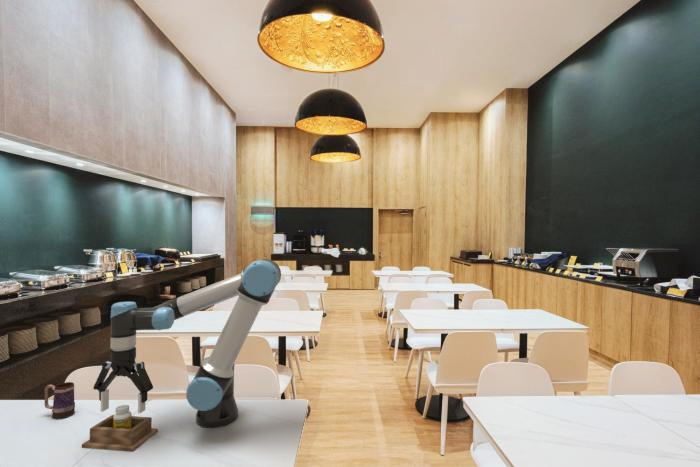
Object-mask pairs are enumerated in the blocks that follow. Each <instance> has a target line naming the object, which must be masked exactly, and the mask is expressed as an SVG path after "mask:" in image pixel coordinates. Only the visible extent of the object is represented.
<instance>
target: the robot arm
mask: <svg viewBox="0 0 700 467" xmlns="http://www.w3.org/2000/svg"><path fill="white" fill-rule="evenodd" d="M281 277H282V271H281V268H280V266H279V265H278V264H277V263H276V262H275V261H273V260H271V259H267V258H265V259H260V260H258V259H257V260H255V261H253V262H251V263H250V264H248V266H246V268H244V269H242V270H241V273H238V274H236V275H233V276H231V277H228V278H225V279H223V280H220V281H217V282H214V283H212V284H209V285H207V286H204V287H202V288H199V289H196V290H195V291H191V292H189V293H185V294H184V295H181V296H179V297H176V298H173V299H170V300H167V301H165V302H163V303H161V304H158V305H156V306H154V307H138V306H137V303H136V302H135V301H119V302H115V303H113V304H112V305H111V307H110V308H111V310H110V317H109V318H110V343H109V344H110V349H111V350H110V358H109V360H107V361H105V362H103V363H102V364H101V371H100V372H99V374H98V377H97V378H96V380H95V383H94V385H93V388H92V389H93V390H95V391H96V390H97V391H98V392H99V394H98V399H99V401H100V412H101V413H102V412H105V411H107V410H108V409H110V407H109V406H110V389H108V387H109V386H110V384H111V383H112V382H113V380H115V378H116V377H127V378H128V379H130V381H131V382H132V383H133V385H134V386H135V387H136V388H137V390H138V391H139V393H138V394H137V414H142V413H143V412H145V411H146V402H147V401H148V392H150V391H151V390H153V389H154V385H153V383H152V381H151V379H150V376H149V374H148V372H147V370H146V366H145V362H144V361H141V362H136V359H137V347H136V345H137V331H162V330H169V329H171V328H172V327H173V325H174V322H175V321H176V320H179V319H181V318H184V317H185V316H188V315H191V314H193V313H196V312H198V311H202V310H204V309H206V308H209V307H211V306H214V305H217V304H219V303H222V302H225V301H227V300H230V299H233V298H234V297H237V296H238V297H237V300H236V302H235V304H234V306H233V307H232V310H231V312H230V314H229V316H228V318H227V320H226V322H225V324H224V326H223V328H222V331H221V333H220V335H219V337H218V338H217V340H216V343H215V345H214V347H213V349H212V351H211V353H210V355H209V356H207V357H205V358H203V359H202V361H201V363H200V366H199V367H198V369H197V371H196V373H195V375H194V377H193V379H192V380H191V381H190V382H189V383H188V387H187V388H186V392H185V396H186V397H185V398H186V399H187V401H188V404H189V405H190V406H191V407H192V408H193V409H195V410H197V412H196V414H195V415H196V416H195V419H196V420H195V422H196V424H197V425H199V426H200V427H205V428H217V427H222V426H226V425H228V424H231V423H233V422H235V421H236V420H237V419H238V418H239V407H238V405H237V401H236V399H235V398H236V397H235V396H234V395H235V393H234V392H235V391H234V390H235V388H234V387H235V365H236V364H235V362H236V360H237V358H238V356H239V355H240V352H241V350H242V347H243V345H244V343H245V341H246V340H247V338H248V335H249V333H250V331H251V329H252V327H253V325H254V323H255V321H256V318H257V317H258V314H259V313H260V310H261V309H262V307H263V306H265V305H268V303H269V302H270V300H271V298H272V295H274V294H273V293H274V291H275V289H276V287H277V285H278V284H280V281H281V279H282V278H281ZM110 370H112V371H110ZM109 371H110V373H109Z"/></svg>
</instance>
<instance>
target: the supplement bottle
mask: <svg viewBox="0 0 700 467" xmlns="http://www.w3.org/2000/svg"><path fill="white" fill-rule="evenodd" d="M113 415H114V416H113V428H124V429H131V416H133V414H132V412H131V411H130V405H128V404H121V405H119V406H116V407H115V414H113Z"/></svg>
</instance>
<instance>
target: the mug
mask: <svg viewBox="0 0 700 467" xmlns="http://www.w3.org/2000/svg"><path fill="white" fill-rule="evenodd" d="M50 388H51V389H52V390H51V391H53V400H52V401H53V402H52V403H53V404H52V405H49V389H50ZM43 391H44V392H43V393H44V408H46V409H49V410H51V412H52V413H51V414H52V415H51V418H52V419H54V420H63V419H67V418H69V417H71V416H73V415H74V414H75V409H76V408H75V407H76V402H75V383H74V382H72V381H67V382H62V383H61V382H60V383H58V384H56V385H54V384H48V385H45V388H44V390H43Z"/></svg>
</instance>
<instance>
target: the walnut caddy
mask: <svg viewBox="0 0 700 467" xmlns="http://www.w3.org/2000/svg"><path fill="white" fill-rule="evenodd" d="M114 415H115V414H111V415H110V416H109V417H106V418H105V419H103V420H102V421H100V422H98V423H97V424H95V425H93V426H91V427H90V428H89V439H88V440H87V441H85V442H84V443H82V444H81V448H83V449H96V450H107V451H108V450H109V451H119V452H122V451H123V452H134V451H136V450H137V449H138V448H139V447H141V446H142V445H143V444H145V442H147V441H148V440H149V439H151V438H152V437H153V436H154V435H155V434H157V433H158V432H159V428H153V426H152V420H153V419H152V418H153V417H152V416H151V417H150V416H135V415H134V416H133V415H132V416H131V429H124V428H113V416H114Z"/></svg>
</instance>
